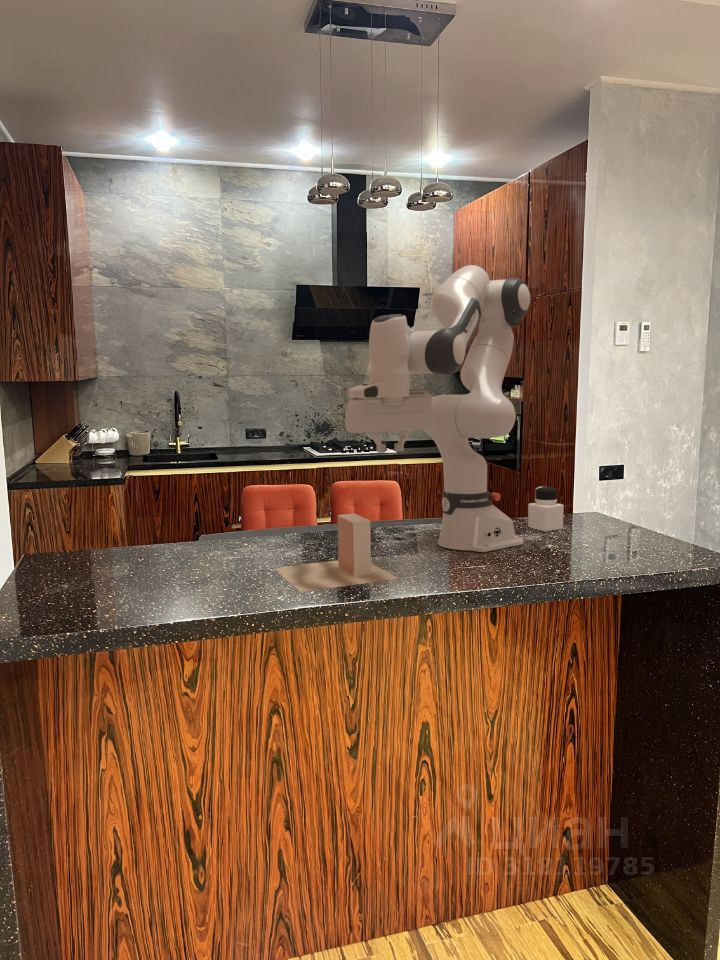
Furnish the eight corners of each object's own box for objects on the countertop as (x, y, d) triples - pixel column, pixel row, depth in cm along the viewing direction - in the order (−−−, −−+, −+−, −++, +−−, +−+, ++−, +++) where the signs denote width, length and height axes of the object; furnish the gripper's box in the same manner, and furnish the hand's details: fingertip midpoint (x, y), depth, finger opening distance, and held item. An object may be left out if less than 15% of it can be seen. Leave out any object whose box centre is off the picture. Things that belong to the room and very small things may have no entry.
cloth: (362, 561, 169) (362, 557, 168) (398, 583, 150) (398, 578, 150) (273, 572, 160) (273, 568, 160) (300, 596, 142) (300, 591, 142)
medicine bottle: (563, 529, 201) (564, 487, 199) (545, 532, 198) (546, 489, 196) (545, 524, 207) (546, 484, 205) (527, 527, 204) (528, 486, 202)
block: (355, 564, 162) (354, 513, 160) (371, 574, 154) (370, 520, 152) (338, 566, 160) (337, 515, 159) (353, 576, 152) (352, 522, 150)
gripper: (424, 388, 162) (424, 448, 164) (341, 390, 154) (343, 453, 156) (438, 388, 156) (438, 450, 158) (352, 390, 148) (353, 455, 150)
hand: (390, 452), depth 157 cm, fingers open, 3 cm apart
